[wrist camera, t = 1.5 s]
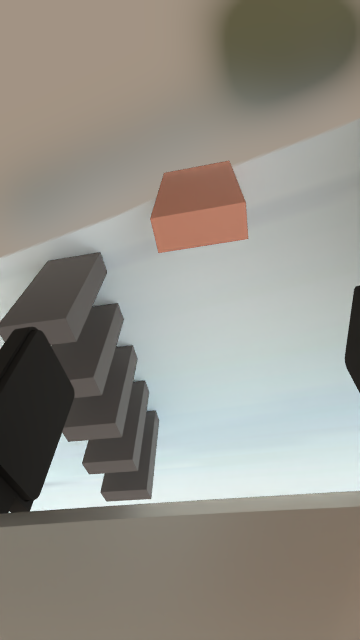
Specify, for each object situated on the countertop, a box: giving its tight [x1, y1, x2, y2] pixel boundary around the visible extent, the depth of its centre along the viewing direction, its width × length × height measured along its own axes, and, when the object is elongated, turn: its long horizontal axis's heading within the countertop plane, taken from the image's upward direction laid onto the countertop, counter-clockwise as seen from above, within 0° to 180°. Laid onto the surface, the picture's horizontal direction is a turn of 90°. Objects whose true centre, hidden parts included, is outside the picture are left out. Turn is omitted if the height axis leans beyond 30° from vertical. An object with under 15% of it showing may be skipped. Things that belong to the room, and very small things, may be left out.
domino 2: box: [51, 303, 124, 398], centre depth 30 cm, size 5×2×10 cm, turn 101°
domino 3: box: [62, 345, 137, 442], centre depth 33 cm, size 5×2×10 cm, turn 100°
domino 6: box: [150, 161, 248, 253], centre depth 22 cm, size 5×2×10 cm, turn 101°
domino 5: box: [101, 411, 159, 501], centre depth 40 cm, size 5×2×10 cm, turn 101°
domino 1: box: [0, 253, 107, 345], centre depth 27 cm, size 5×2×10 cm, turn 101°
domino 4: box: [82, 381, 149, 474], centre depth 36 cm, size 5×2×10 cm, turn 100°
